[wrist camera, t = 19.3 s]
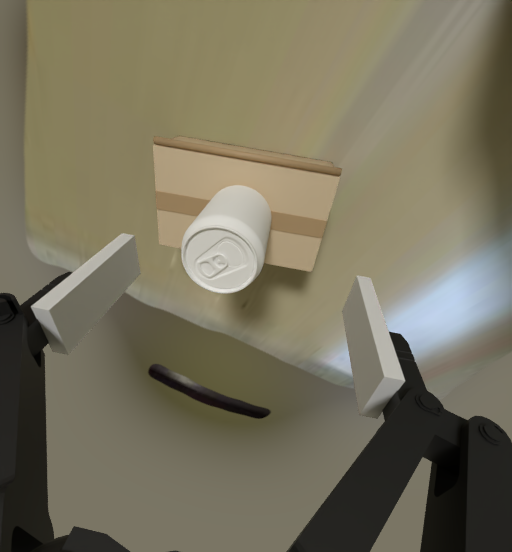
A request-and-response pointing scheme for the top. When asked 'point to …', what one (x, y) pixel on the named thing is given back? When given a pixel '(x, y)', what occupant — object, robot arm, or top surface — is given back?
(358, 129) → the top surface
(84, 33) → the top surface
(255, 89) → the top surface
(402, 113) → the top surface
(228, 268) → the beverage can
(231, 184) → the lid
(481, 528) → the robot arm
